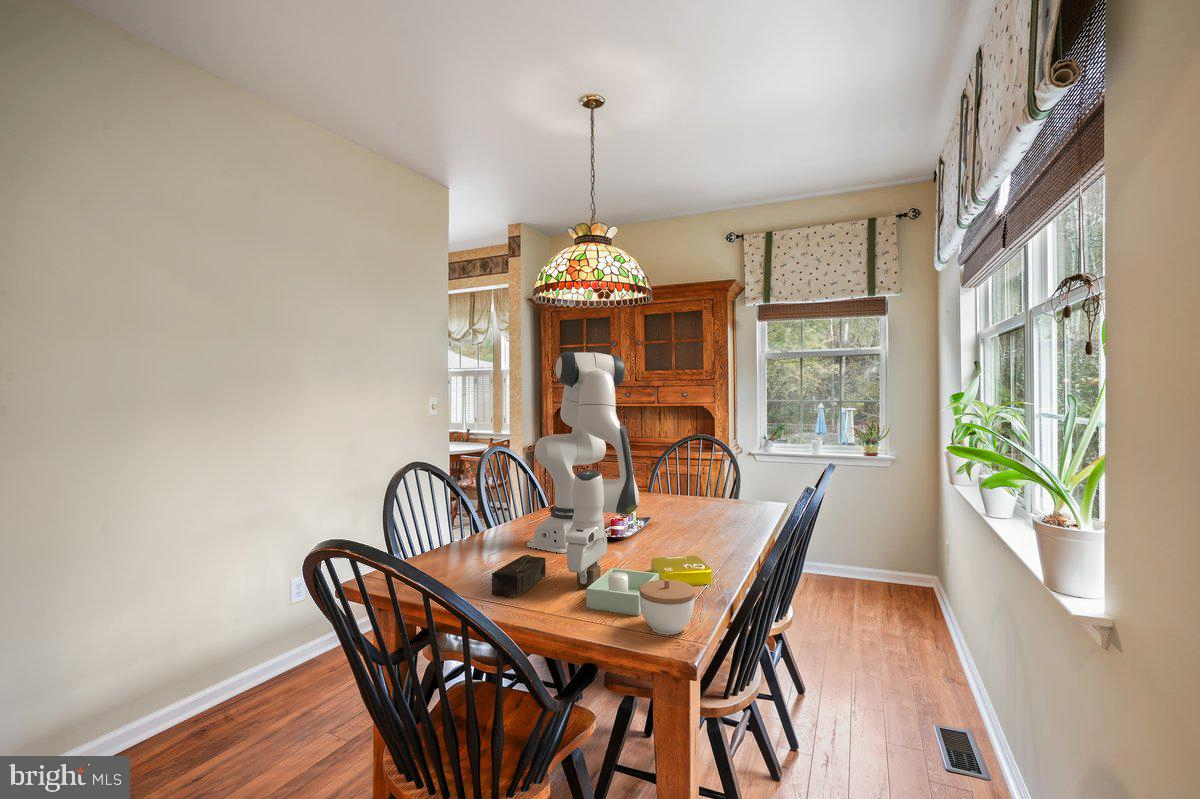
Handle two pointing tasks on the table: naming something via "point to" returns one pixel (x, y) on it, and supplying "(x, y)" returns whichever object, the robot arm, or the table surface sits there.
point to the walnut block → (590, 576)
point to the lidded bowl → (667, 605)
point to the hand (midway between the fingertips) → (588, 579)
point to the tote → (619, 593)
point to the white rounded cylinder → (618, 582)
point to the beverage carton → (518, 576)
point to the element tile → (682, 569)
